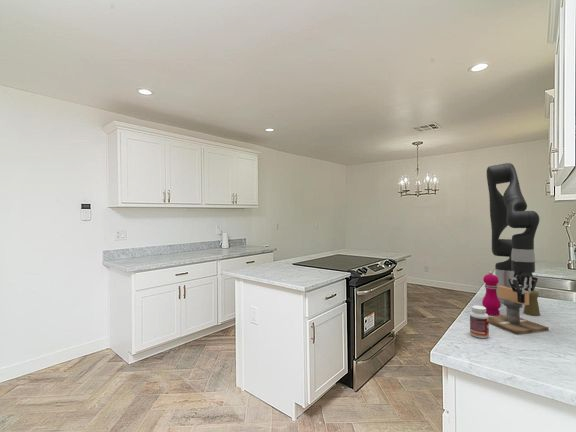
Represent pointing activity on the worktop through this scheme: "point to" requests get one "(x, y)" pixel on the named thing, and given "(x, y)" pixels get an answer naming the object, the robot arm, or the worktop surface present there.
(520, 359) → the worktop surface
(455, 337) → the worktop surface
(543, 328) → the square stand base
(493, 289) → the pepper mill
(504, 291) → the tan long piece
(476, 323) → the pill bottle
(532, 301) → the cork
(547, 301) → the worktop surface
